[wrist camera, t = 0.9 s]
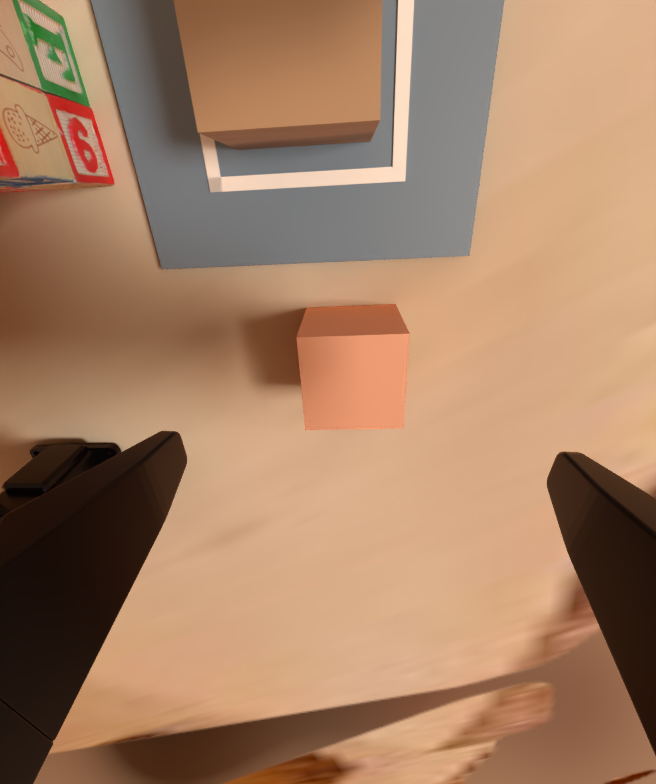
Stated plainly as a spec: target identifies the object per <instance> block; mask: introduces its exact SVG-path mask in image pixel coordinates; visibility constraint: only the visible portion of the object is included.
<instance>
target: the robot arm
mask: <svg viewBox="0 0 656 784" xmlns="http://www.w3.org/2000/svg"><path fill="white" fill-rule="evenodd" d="M30 454H31V456H32V457H33V459H32V460H31V461H30V462H28V463H27V464H26V465H25V466H24V467H22V468H21V469H20V470H19V471H18V472H17V473H15V474H14V475H13V476H12V477H11V478H9V479H8V480H7V481H6V482H5V483H4V484H3V486H2V488H3V489H4V491H3V492H2V493H1V494H0V784H33V783H34V781H35V779H36V777H37V775H38V773H39V771H40V769H41V767H42V765H43V763H44V761H45V759H46V757H47V755H48V753H49V751H50V749H51V747H52V745H53V741H54V740H55V738H56V737H57V735H58V733H59V731H60V729H61V727H62V725H63V723H64V721H65V719H66V717H67V715H68V713H69V711H70V709H71V707H72V705H73V703H74V701H75V699H76V697H77V695H78V693H79V691H80V689H81V687H82V685H83V683H84V681H85V679H86V677H87V675H88V673H89V671H90V669H91V667H92V665H93V663H94V661H95V659H96V657H97V655H98V653H99V651H100V649H101V647H102V645H103V643H104V641H105V639H106V637H107V635H108V633H109V631H110V629H111V627H112V625H113V623H114V621H115V619H116V617H117V615H118V613H119V611H120V609H121V607H122V605H123V603H124V601H125V600H126V598H127V596H128V594H129V592H130V590H131V588H132V586H133V584H134V582H135V580H136V578H137V576H138V574H139V572H140V570H141V568H142V566H143V564H144V562H145V560H146V558H147V556H148V554H149V552H150V550H151V548H152V546H153V544H154V542H155V540H156V538H157V536H158V534H159V532H160V530H161V528H162V526H163V524H164V522H165V520H166V517H167V515H168V512H169V510H170V507H171V505H172V502H173V499H174V497H175V494H176V491H177V489H178V486H179V483H180V481H181V478H182V475H183V473H184V470H185V467H186V464H187V455H186V452H185V449H184V445H183V442H182V439H181V436H180V434H179V433H178V432H175V431H161V432H158V433H157V434H155V435H153V436H151V437H149V438H147V439H145V440H144V441H142V442H140V443H138V444H136V445H134V446H132V447H131V448H129V449H127V450H125V451H123V452H121V450H120V448H119V447H118V446H116V445H114V444H61V445H36V446H35V447H34V448H32V449H31V450H30ZM547 488H548V492H549V495H550V498H551V501H552V504H553V508H554V511H555V514H556V517H557V521H558V524H559V527H560V530H561V534H562V537H563V540H564V543H565V546H566V549H567V552H568V554H569V557H570V559H571V562H572V564H573V566H574V569H575V571H576V573H577V576H578V578H579V580H580V582H581V585H582V587H583V589H584V592H585V594H586V596H587V599H588V601H589V603H590V606H591V608H592V610H593V612H594V615H595V617H596V619H597V622H598V624H599V626H600V629H601V631H602V633H603V635H604V638H605V640H606V642H607V644H608V647H609V649H610V652H611V654H612V656H613V659H614V661H615V663H616V666H617V668H618V670H619V672H620V675H621V677H622V679H623V682H624V684H625V686H626V689H627V691H628V693H629V695H630V697H631V700H632V702H633V705H634V707H635V709H636V712H637V714H638V716H639V719H640V721H641V723H642V725H643V728H644V730H645V732H646V735H647V737H648V739H649V742H650V744H651V746H652V748H653V751H654V753H655V755H656V498H654V497H653V496H651V495H649V494H648V493H646V492H644V491H643V490H641V489H640V488H638V487H636V486H635V485H633V484H631V483H630V482H628V481H626V480H625V479H623V478H621V477H620V476H618V475H617V474H615V473H613V472H612V471H610V470H608V469H607V468H605V467H603V466H602V465H600V464H599V463H597V462H595V461H594V460H592V459H590V458H589V457H587V456H585V455H584V454H582V453H579V452H560V453H559V454H558V455H557V456H556V458H555V461H554V463H553V466H552V468H551V470H550V473H549V475H548V478H547Z"/></svg>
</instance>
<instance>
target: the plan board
mask: <svg viewBox="0 0 656 784" xmlns="http://www.w3.org/2000/svg"><path fill="white" fill-rule="evenodd" d="M91 3H92V6H93V10H94V14H95V18H96V21H97V25H98V29H99V33H100V37H101V40H102V44H103V48H104V52H105V56H106V59H107V63H108V67H109V71H110V75H111V78H112V82H113V86H114V90H115V94H116V97H117V101H118V105H119V109H120V113H121V116H122V120H123V124H124V128H125V132H126V135H127V139H128V143H129V147H130V151H131V154H132V158H133V162H134V166H135V169H136V173H137V177H138V181H139V185H140V188H141V192H142V196H143V200H144V204H145V207H146V211H147V215H148V219H149V223H150V226H151V230H152V234H153V238H154V242H155V245H156V249H157V253H158V257H159V261H160V264H161V268H162V269H182V268H205V267H227V266H250V265H273V264H296V263H318V262H341V261H364V260H386V259H409V258H432V257H455V256H470V248H471V241H472V234H473V226H474V219H475V211H476V204H477V197H478V189H479V182H480V175H481V167H482V160H483V153H484V145H485V138H486V131H487V123H488V116H489V109H490V101H491V94H492V86H493V79H494V72H495V64H496V57H497V50H498V42H499V35H500V28H501V20H502V13H503V6H504V0H382V53H381V108H380V122H379V124H378V126H377V129H376V131H375V133H374V135H373V137H372V140H371V142H356V143H341V144H325V145H310V146H294V147H279V148H264V149H248V150H237V149H234V148H232V147H230V146H227V145H225V144H223V143H221V142H218V141H216V140H214V139H211V138H209V137H207V136H205V135H202V134H200V133H198V131H197V125H196V120H195V115H194V109H193V104H192V98H191V93H190V87H189V82H188V76H187V71H186V66H185V60H184V55H183V49H182V44H181V38H180V33H179V27H178V22H177V17H176V11H175V6H174V0H91Z"/></svg>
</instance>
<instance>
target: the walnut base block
mask: <svg viewBox="0 0 656 784" xmlns="http://www.w3.org/2000/svg"><path fill="white" fill-rule="evenodd" d="M174 6H175V11H176V17H177V22H178V27H179V33H180V38H181V44H182V49H183V55H184V60H185V66H186V71H187V76H188V82H189V87H190V93H191V98H192V104H193V109H194V115H195V120H196V125H197V131H198V133H200V134H202V135H205V136H207V137H209V138H211V139H214V140H216V141H218V142H221V143H223V144H225V145H227V146H230V147H232V148H234V149H237V150H248V149H264V148H279V147H294V146H310V145H325V144H341V143H356V142H371V140H372V137H373V135H374V133H375V131H376V129H377V126H378V124H379V122H380V108H381V53H382V0H174Z"/></svg>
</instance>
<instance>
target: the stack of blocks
mask: <svg viewBox="0 0 656 784" xmlns="http://www.w3.org/2000/svg"><path fill="white" fill-rule="evenodd" d="M112 185H114V179H113V176H112V173H111V170H110V166H109V163H108V160H107V156H106V153H105V150H104V147H103V143H102V140H101V137H100V134H99V131H98V127H97V124H96V121H95V118H94V114H93V111H92V109H91V108H90V105H89V102H88V98H87V95H86V92H85V88H84V85H83V82H82V78H81V75H80V72H79V68H78V65H77V62H76V58H75V55H74V52H73V49H72V45H71V42H70V39H69V36H68V32H67V29H66V25H65V22H64V19H63V17H62V16H61V15H60V14H58V13H57V12H55V11H54V10H52V9H51V8H50V7H48V6H47V5H45V4H43V3H42V2H41V1H39V0H0V192H3V193H5V192H20V191H33V190H48V189H72V188H87V187H101V186H112Z"/></svg>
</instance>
